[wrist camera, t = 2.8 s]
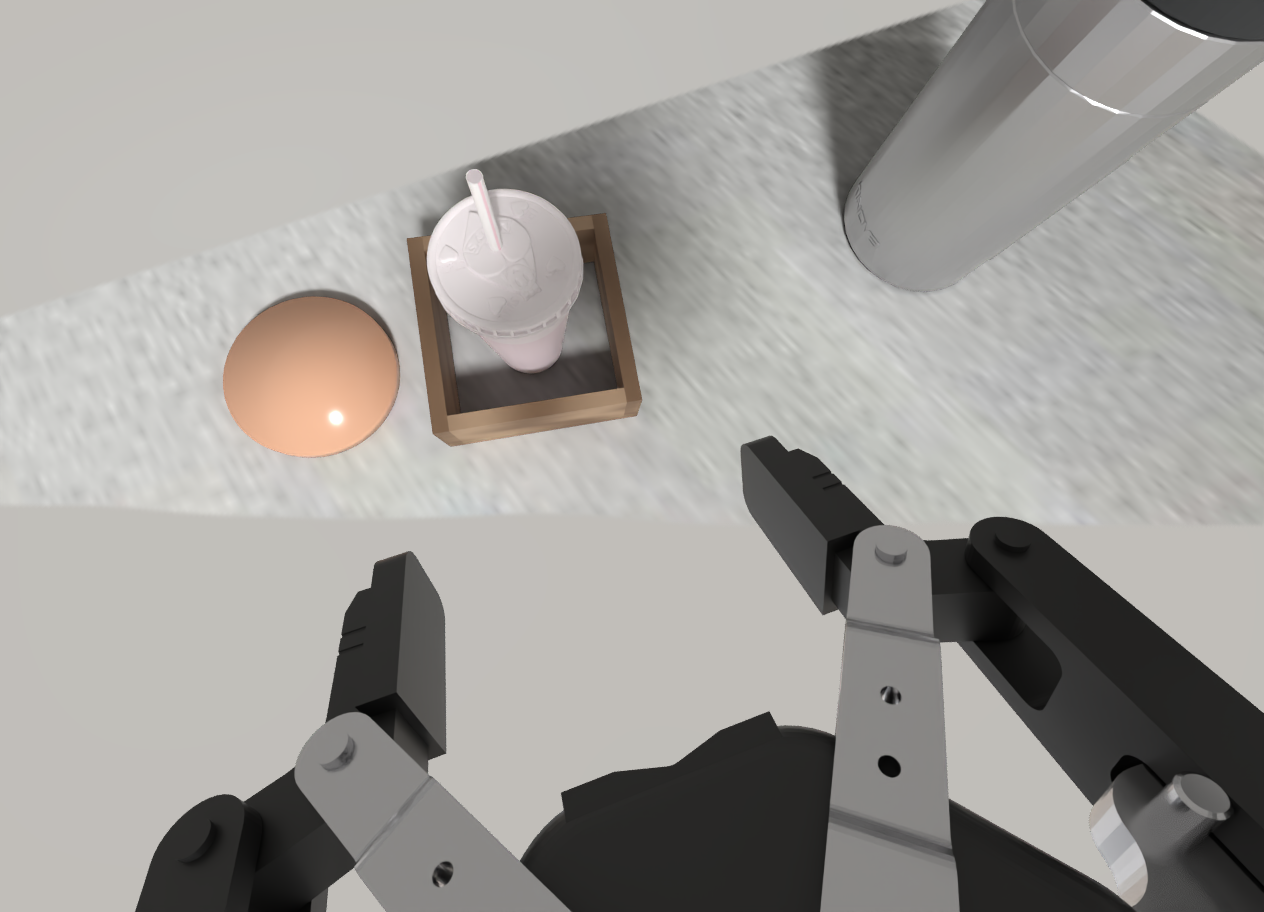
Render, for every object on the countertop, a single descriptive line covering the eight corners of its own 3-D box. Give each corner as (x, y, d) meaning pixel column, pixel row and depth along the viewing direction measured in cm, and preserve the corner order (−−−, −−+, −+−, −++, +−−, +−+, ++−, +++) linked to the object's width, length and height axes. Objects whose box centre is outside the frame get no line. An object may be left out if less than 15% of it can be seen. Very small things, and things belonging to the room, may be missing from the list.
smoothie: (542, 271, 33) (506, 71, 19) (608, 354, 32) (619, 210, 18) (452, 332, 32) (345, 167, 18) (518, 418, 31) (460, 316, 17)
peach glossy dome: (390, 292, 32) (385, 286, 31) (409, 442, 31) (404, 440, 30) (226, 314, 31) (217, 308, 30) (239, 470, 30) (229, 468, 29)
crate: (604, 247, 33) (606, 213, 30) (636, 415, 32) (642, 399, 28) (426, 271, 32) (406, 238, 29) (450, 446, 31) (432, 434, 27)
